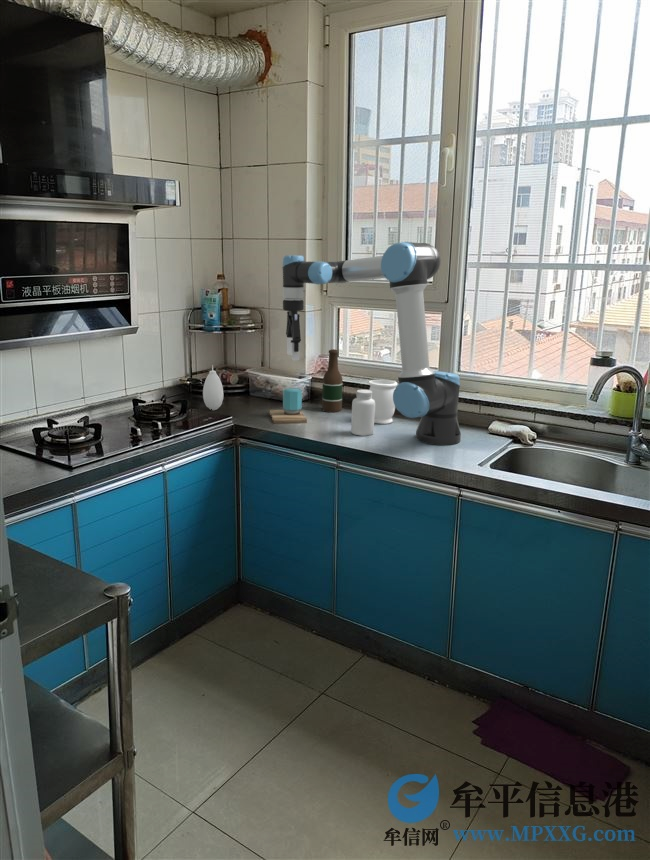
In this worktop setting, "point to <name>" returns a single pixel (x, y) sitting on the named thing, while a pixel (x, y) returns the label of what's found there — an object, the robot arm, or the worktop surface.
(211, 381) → the white air blower bulb
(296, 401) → the turquoise hexagonal prism
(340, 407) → the beer bottle
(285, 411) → the stud block
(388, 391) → the jar
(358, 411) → the pill bottle
